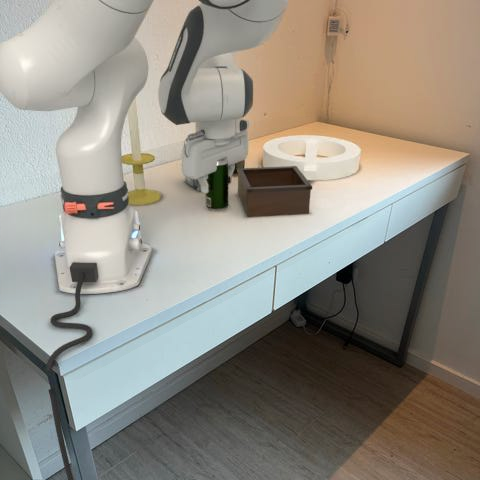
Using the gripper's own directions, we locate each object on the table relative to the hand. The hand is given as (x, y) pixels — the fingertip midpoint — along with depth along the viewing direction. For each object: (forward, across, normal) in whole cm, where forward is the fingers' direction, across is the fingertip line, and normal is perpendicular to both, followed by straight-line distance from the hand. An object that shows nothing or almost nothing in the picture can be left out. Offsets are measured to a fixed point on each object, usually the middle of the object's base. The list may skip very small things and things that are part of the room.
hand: (216, 187), depth 122 cm
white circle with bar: (+5, +43, -1) cm, 43 cm away
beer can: (+5, 0, 0) cm, 5 cm away
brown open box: (+5, +10, -9) cm, 14 cm away
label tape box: (+5, +9, +14) cm, 17 cm away
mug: (+5, +23, +14) cm, 27 cm away
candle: (+5, -6, +19) cm, 21 cm away
